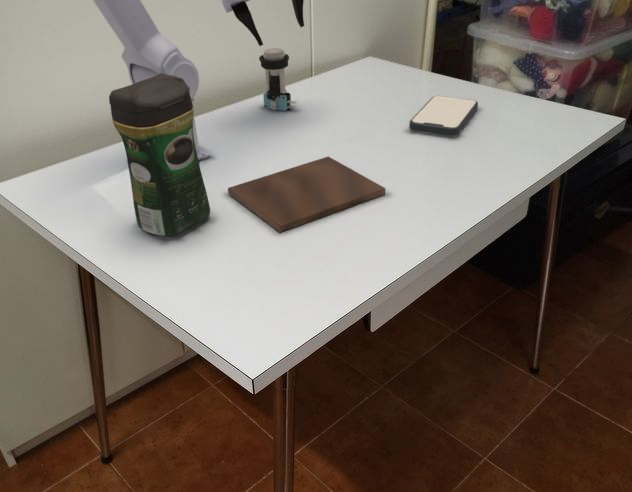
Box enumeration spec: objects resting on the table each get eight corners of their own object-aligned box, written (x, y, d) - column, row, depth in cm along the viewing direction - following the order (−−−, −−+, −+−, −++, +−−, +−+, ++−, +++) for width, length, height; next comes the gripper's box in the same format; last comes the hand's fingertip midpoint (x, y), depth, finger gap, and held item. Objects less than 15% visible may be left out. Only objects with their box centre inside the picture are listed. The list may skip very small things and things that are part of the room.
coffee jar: (179, 201, 89) (155, 64, 77) (220, 216, 86) (201, 75, 74) (127, 229, 84) (92, 85, 71) (168, 246, 80) (138, 98, 68)
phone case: (432, 103, 118) (406, 131, 107) (433, 94, 117) (407, 122, 106) (478, 109, 115) (456, 139, 104) (480, 100, 114) (458, 129, 103)
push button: (302, 106, 118) (300, 49, 111) (289, 115, 114) (286, 57, 108) (271, 101, 120) (268, 45, 114) (257, 110, 117) (253, 53, 110)
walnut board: (280, 232, 82) (279, 226, 81) (228, 194, 91) (227, 187, 90) (385, 194, 90) (385, 188, 89) (328, 162, 98) (328, 156, 98)
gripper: (289, -79, 98) (312, 5, 109) (205, -39, 99) (237, 39, 110) (301, -61, 94) (324, 23, 105) (213, -20, 95) (245, 59, 106)
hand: (280, 33), depth 107 cm, fingers open, 7 cm apart
